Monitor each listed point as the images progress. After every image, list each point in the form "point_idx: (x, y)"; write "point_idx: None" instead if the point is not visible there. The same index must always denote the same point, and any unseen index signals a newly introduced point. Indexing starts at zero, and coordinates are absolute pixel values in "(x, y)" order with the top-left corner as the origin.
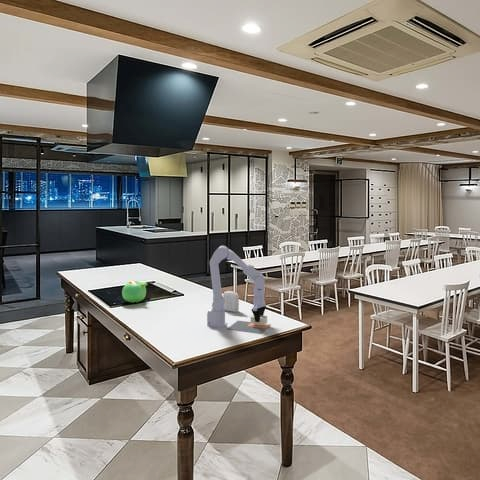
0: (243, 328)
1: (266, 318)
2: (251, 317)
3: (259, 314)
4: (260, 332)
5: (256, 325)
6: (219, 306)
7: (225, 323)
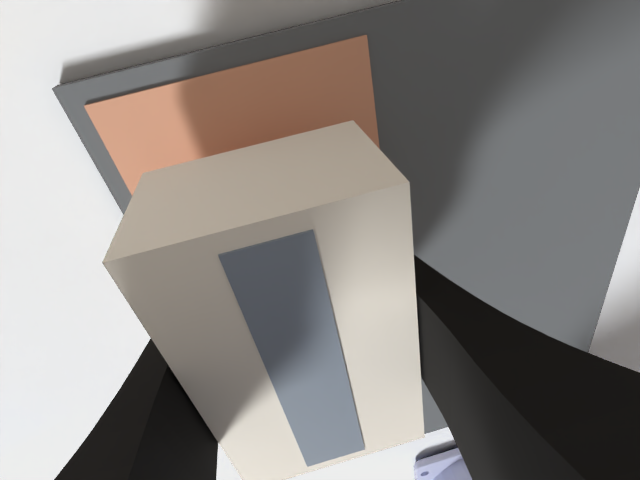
0: (506, 307)
1: (204, 208)
2: (421, 417)
3: (597, 361)
4: (630, 7)
5: None
6: None
7: (432, 472)
